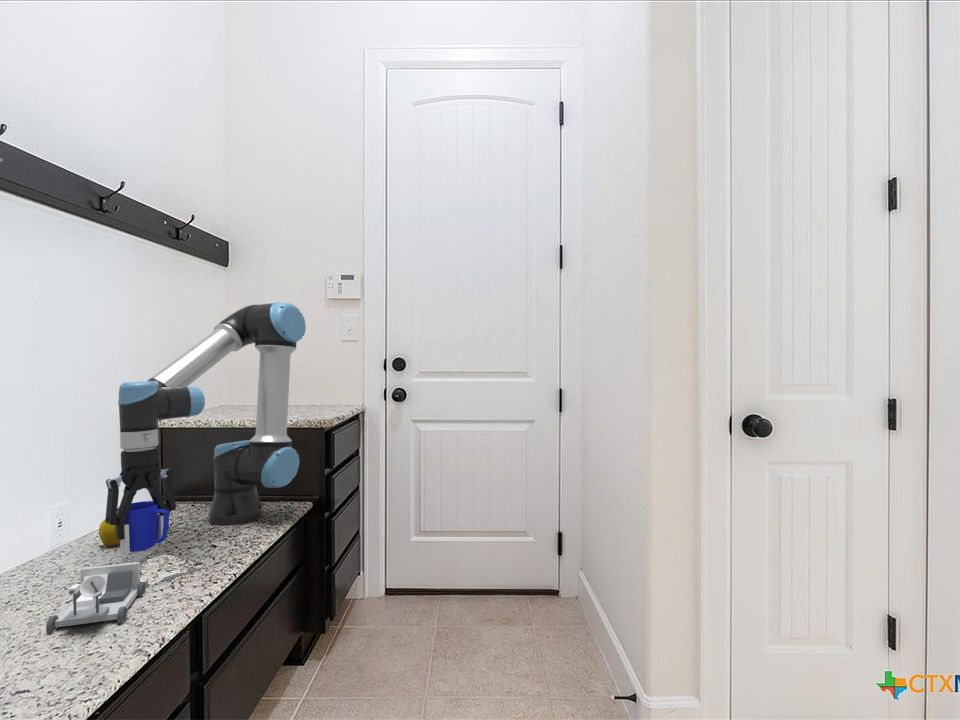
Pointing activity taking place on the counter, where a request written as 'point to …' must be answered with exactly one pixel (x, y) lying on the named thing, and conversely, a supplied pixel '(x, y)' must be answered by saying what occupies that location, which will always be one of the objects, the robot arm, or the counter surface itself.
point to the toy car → (101, 595)
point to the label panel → (165, 574)
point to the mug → (145, 525)
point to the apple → (108, 534)
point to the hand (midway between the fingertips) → (143, 547)
